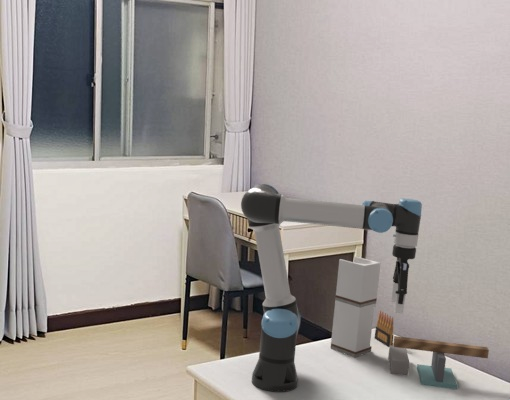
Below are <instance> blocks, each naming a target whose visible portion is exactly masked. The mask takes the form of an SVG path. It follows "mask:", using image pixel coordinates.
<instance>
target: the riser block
mask: <svg viewBox="0 0 510 400" xmlns="http://www.w3.org/2000/svg"><path fill="white" fill-rule="evenodd" d="M387 355H388V357H387V360H388V366H389V371H390V373H389V374H392V375H398V376H406V377H408V376H409V370H410V359H409V355H408V351H407V348H398V347H394V345H393V346H391V345H390V346H389V347H388V354H387Z"/></svg>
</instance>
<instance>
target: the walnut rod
mask: <svg viewBox="0 0 510 400" xmlns="http://www.w3.org/2000/svg"><path fill="white" fill-rule="evenodd" d="M393 346H394V347H398V348H406V350H407V349H408V350H415V351H416V350H417V351H422V352H423V351H426V352H432V353H433V352H439V353H444V354H446V355H447V354H448V355H457V356H465V357H472V358H473V357H474V358H481V359H489V358H488V357H489V351H490V350H489V348H488V347H487V346H479V345H472V344H464V343H457V342H456V343H455V342H447V341H438V340H429V339H422V338H414V337H405V336H394V335H393Z"/></svg>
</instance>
